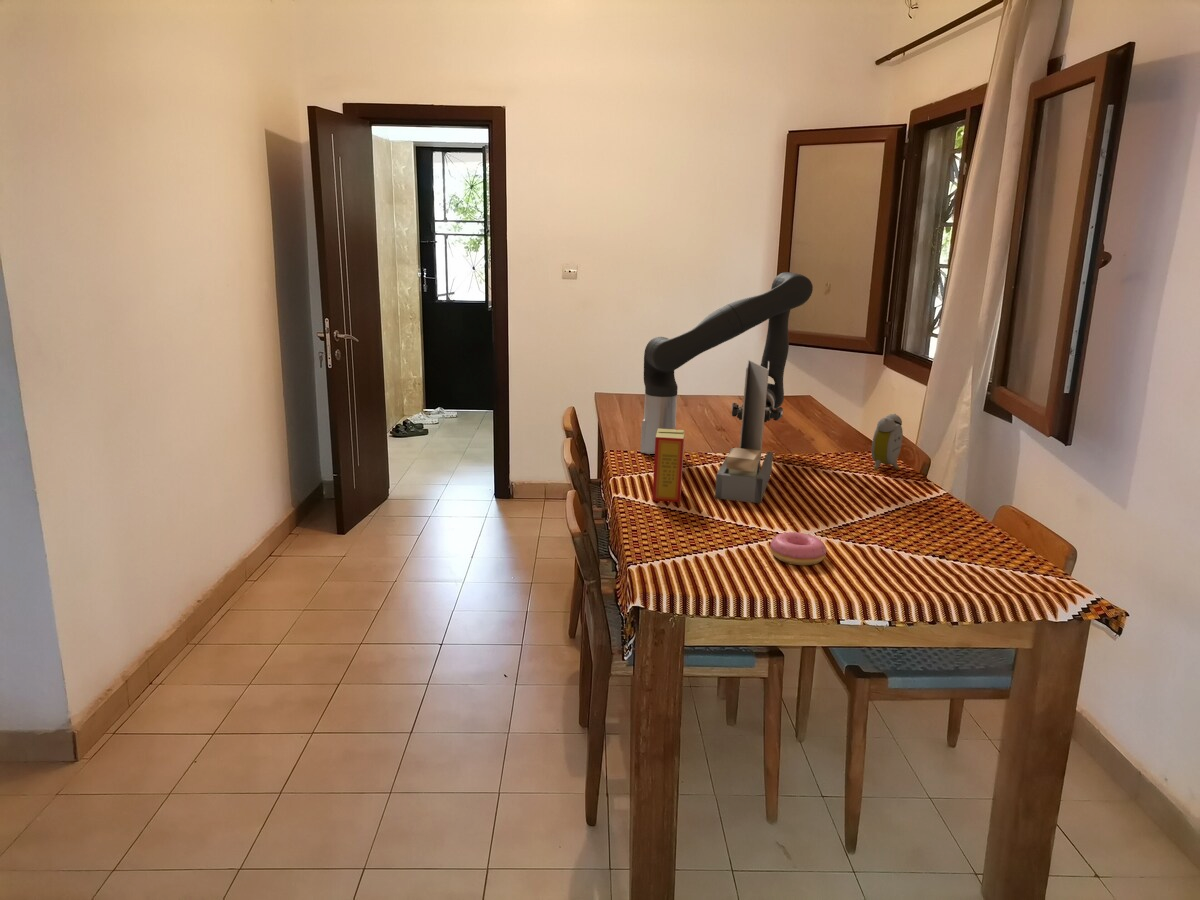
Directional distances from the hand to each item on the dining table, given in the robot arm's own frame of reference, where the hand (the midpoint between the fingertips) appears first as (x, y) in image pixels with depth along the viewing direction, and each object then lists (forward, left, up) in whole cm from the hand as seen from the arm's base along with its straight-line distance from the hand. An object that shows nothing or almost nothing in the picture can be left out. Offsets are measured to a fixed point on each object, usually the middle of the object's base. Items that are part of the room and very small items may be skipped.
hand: (753, 417), depth 213 cm
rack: (0, -9, -16) cm, 18 cm away
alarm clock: (+36, +24, -16) cm, 46 cm away
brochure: (0, -1, -16) cm, 16 cm away
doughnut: (+16, -54, -17) cm, 58 cm away
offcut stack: (0, -15, -16) cm, 22 cm away
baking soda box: (-17, -25, -16) cm, 34 cm away
